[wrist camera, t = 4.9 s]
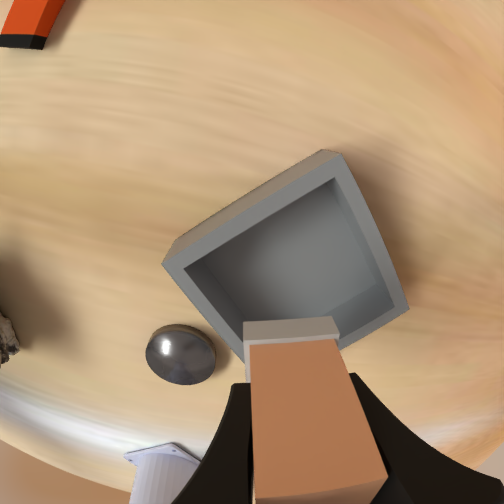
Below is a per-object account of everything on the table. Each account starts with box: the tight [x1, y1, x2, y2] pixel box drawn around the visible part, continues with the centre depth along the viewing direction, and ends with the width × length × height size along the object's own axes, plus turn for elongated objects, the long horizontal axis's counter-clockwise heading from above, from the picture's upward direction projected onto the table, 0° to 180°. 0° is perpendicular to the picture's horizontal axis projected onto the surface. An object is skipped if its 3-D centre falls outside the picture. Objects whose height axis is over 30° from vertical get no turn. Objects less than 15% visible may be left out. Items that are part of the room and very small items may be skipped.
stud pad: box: [146, 324, 216, 385], centre depth 21 cm, size 5×5×1 cm
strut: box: [243, 316, 388, 504], centre depth 9 cm, size 3×3×7 cm
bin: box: [161, 149, 409, 364], centre depth 17 cm, size 10×10×4 cm
